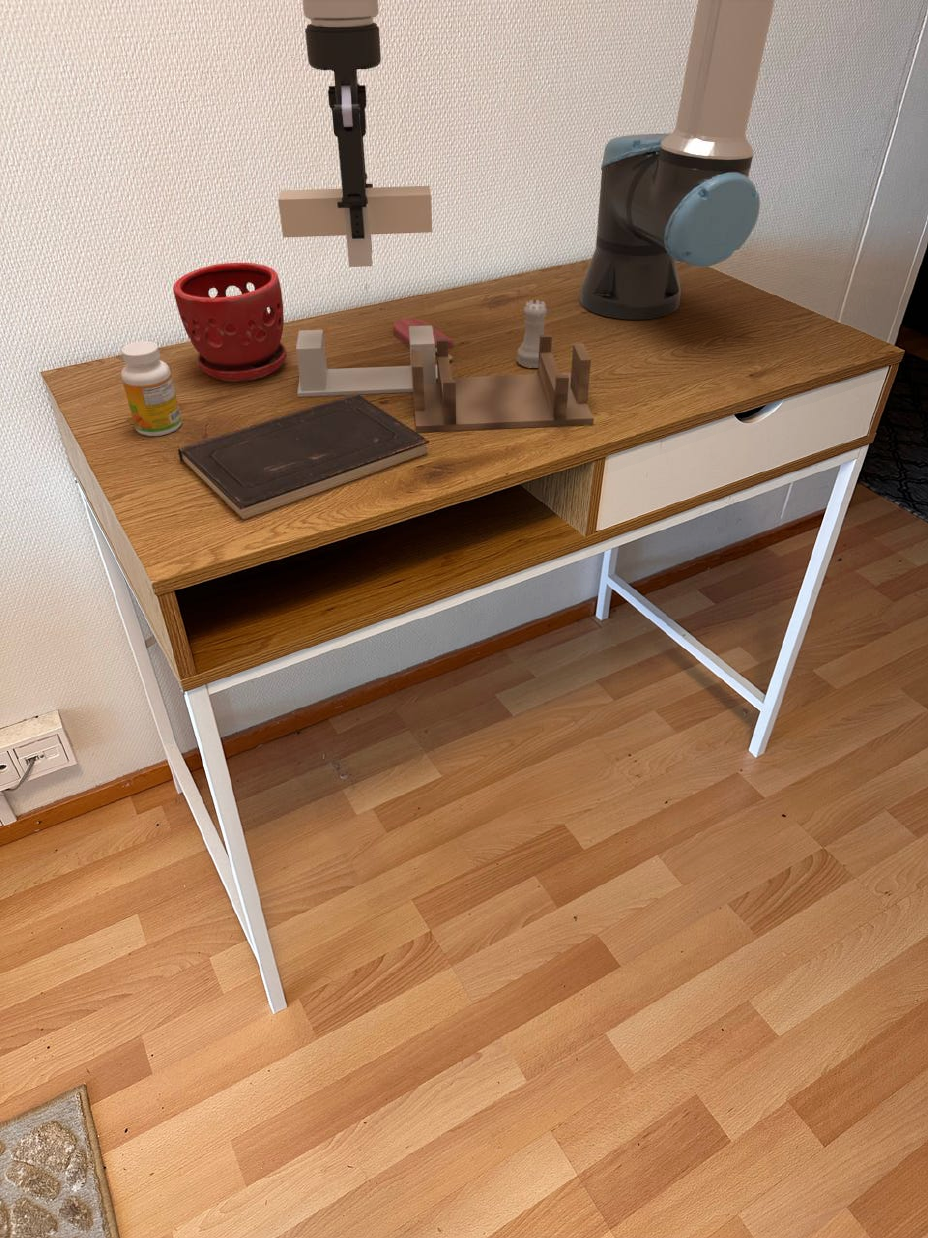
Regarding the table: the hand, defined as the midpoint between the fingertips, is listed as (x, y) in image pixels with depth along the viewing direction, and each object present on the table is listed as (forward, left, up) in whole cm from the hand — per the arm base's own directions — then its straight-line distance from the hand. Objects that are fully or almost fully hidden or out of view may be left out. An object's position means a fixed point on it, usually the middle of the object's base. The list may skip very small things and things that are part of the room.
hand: (360, 258), depth 104 cm
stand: (0, 0, -16) cm, 16 cm away
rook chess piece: (-22, -4, -16) cm, 27 cm away
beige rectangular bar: (0, 0, +3) cm, 3 cm away
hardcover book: (+7, +19, -16) cm, 26 cm away
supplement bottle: (+25, +10, -16) cm, 31 cm away
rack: (-16, +8, -16) cm, 24 cm away
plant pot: (+17, -6, -16) cm, 24 cm away
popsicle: (-8, -12, -16) cm, 22 cm away
